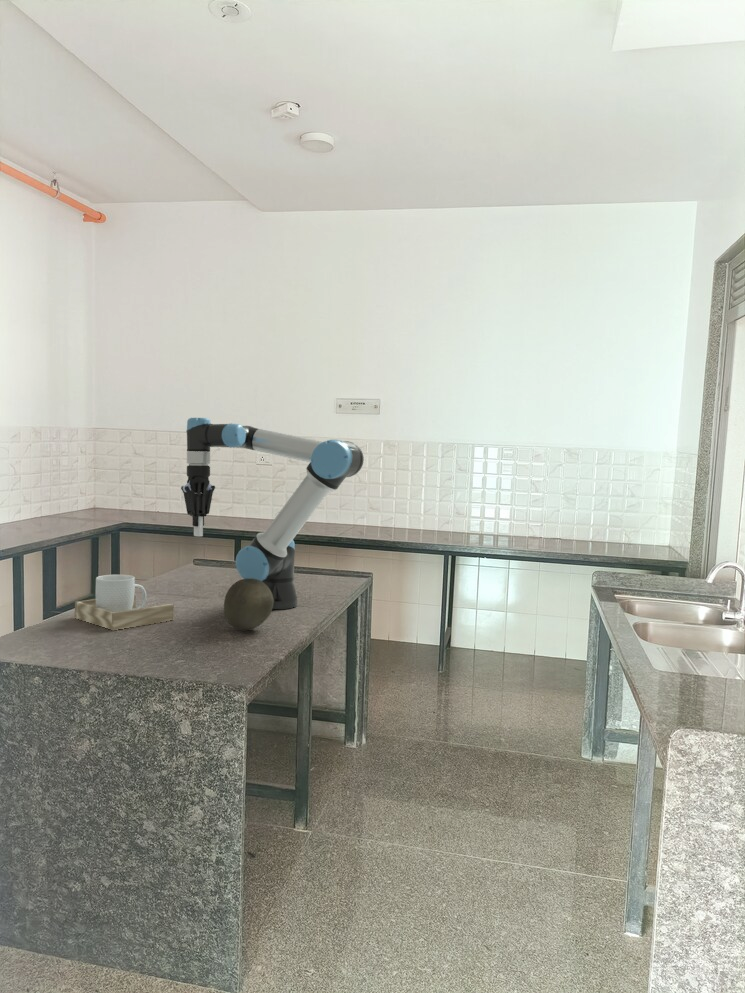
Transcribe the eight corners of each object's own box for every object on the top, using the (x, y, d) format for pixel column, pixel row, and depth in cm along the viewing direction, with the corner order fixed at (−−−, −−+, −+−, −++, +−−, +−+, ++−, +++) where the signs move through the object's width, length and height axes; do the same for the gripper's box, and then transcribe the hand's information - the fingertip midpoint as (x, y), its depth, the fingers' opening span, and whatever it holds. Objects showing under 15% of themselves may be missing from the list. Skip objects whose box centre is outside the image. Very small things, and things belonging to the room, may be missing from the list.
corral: (173, 620, 222) (173, 604, 221) (113, 631, 206) (113, 613, 206) (133, 608, 235) (134, 593, 235) (74, 618, 219) (75, 601, 219)
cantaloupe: (225, 636, 205) (226, 583, 204) (221, 624, 219) (223, 575, 218) (275, 635, 209) (277, 583, 208) (268, 623, 223) (270, 574, 222)
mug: (139, 614, 228) (140, 572, 228) (152, 621, 220) (153, 577, 219) (90, 619, 219) (90, 575, 219) (101, 626, 211) (102, 581, 210)
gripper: (205, 464, 249) (205, 533, 250) (175, 464, 238) (175, 536, 239) (221, 465, 245) (220, 535, 246) (190, 465, 234) (190, 538, 235)
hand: (198, 536), depth 243 cm, fingers closed
